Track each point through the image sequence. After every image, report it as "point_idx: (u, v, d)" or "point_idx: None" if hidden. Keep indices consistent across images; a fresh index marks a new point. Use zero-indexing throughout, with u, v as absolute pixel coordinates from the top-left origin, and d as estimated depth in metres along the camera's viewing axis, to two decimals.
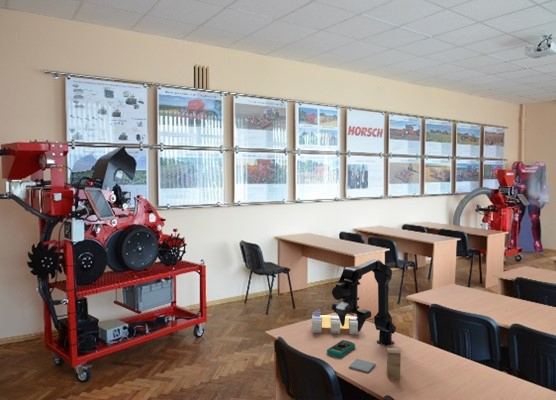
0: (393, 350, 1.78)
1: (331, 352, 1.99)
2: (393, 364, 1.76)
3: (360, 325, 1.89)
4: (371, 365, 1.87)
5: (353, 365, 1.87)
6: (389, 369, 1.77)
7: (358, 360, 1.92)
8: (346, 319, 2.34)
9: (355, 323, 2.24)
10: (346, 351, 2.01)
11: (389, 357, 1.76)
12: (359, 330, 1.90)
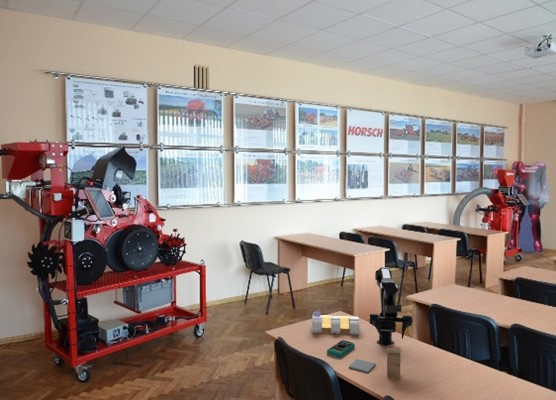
0: (393, 350, 1.78)
1: (331, 352, 1.99)
2: (393, 364, 1.76)
3: (404, 331, 1.87)
4: (371, 365, 1.87)
5: (353, 365, 1.87)
6: (389, 369, 1.77)
7: (358, 360, 1.92)
8: (346, 319, 2.34)
9: (355, 323, 2.24)
10: (346, 351, 2.01)
11: (389, 357, 1.76)
12: None
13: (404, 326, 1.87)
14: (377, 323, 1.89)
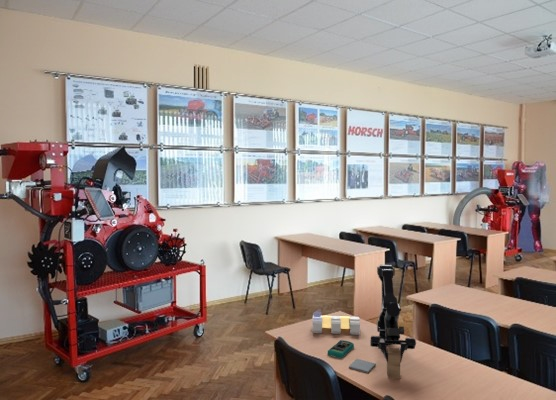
0: (393, 350, 1.78)
1: (332, 353, 1.98)
2: (393, 364, 1.76)
3: (402, 354, 1.79)
4: (371, 365, 1.87)
5: (353, 365, 1.87)
6: (389, 369, 1.77)
7: (358, 360, 1.92)
8: (346, 319, 2.34)
9: (356, 323, 2.24)
10: (346, 351, 2.01)
11: (389, 357, 1.76)
12: (401, 360, 1.77)
13: (402, 349, 1.79)
14: (383, 346, 1.80)
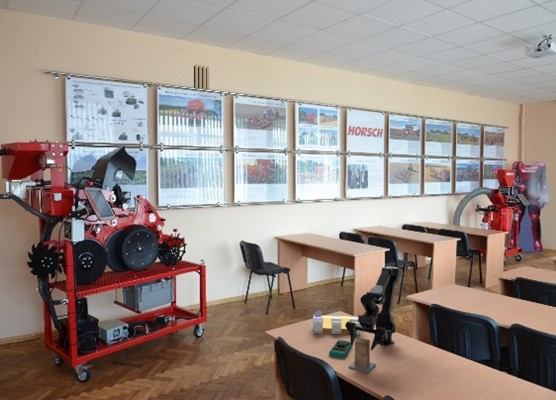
0: (361, 340, 1.87)
1: (334, 353, 1.97)
2: (359, 353, 1.85)
3: (375, 343, 1.84)
4: (371, 365, 1.87)
5: (353, 365, 1.87)
6: (356, 357, 1.86)
7: None
8: (347, 319, 2.33)
9: (356, 323, 2.23)
10: (347, 351, 2.01)
11: (355, 346, 1.86)
12: (372, 348, 1.83)
13: (375, 338, 1.84)
14: (351, 331, 1.91)
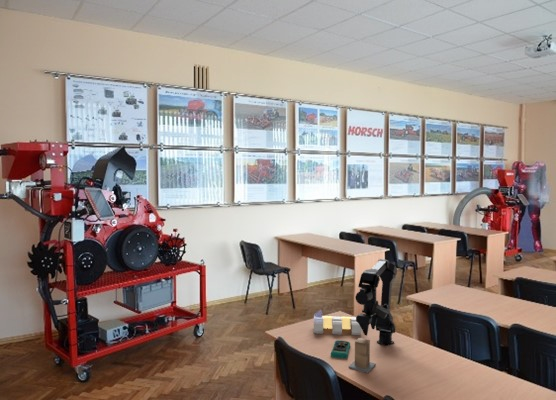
0: (361, 340, 1.87)
1: (336, 354, 1.96)
2: (359, 353, 1.85)
3: None
4: (371, 365, 1.87)
5: (353, 365, 1.87)
6: (356, 357, 1.86)
7: None
8: (347, 320, 2.33)
9: (357, 324, 2.23)
10: (347, 351, 2.01)
11: (355, 346, 1.86)
12: None
13: (377, 318, 1.97)
14: (368, 325, 1.87)
